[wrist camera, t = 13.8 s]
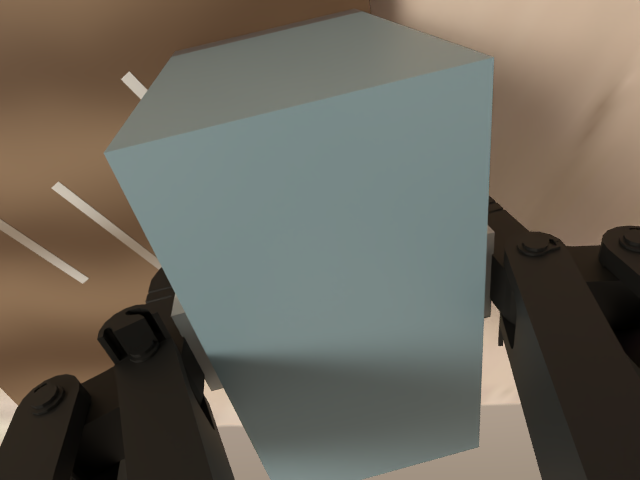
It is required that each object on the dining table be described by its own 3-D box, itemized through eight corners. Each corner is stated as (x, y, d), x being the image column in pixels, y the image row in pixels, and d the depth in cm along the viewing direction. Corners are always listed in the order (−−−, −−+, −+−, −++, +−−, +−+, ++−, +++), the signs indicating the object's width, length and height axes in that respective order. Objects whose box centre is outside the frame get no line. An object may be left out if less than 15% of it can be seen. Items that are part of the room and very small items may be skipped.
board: (-279, 44, 13) (-333, 52, 12) (345, -103, 14) (356, -110, 13) (33, 384, 23) (21, 409, 21) (395, 288, 23) (404, 306, 22)
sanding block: (175, 51, 14) (103, 153, 6) (354, 8, 14) (494, 57, 6) (264, 300, 20) (281, 501, 12) (387, 267, 20) (478, 447, 13)
